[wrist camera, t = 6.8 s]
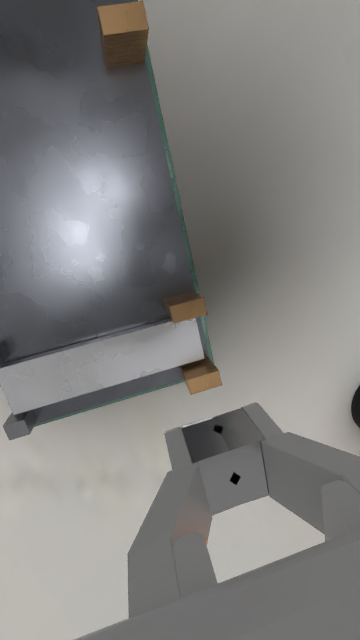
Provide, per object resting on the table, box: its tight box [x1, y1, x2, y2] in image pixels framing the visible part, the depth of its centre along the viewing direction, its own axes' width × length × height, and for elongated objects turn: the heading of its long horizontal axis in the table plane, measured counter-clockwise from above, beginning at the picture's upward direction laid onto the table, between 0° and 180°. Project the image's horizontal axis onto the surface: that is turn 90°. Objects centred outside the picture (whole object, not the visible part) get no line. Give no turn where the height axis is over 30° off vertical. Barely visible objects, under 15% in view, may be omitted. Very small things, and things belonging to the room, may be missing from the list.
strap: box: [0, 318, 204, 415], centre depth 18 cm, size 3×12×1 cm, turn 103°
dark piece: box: [0, 0, 222, 440], centre depth 17 cm, size 28×15×7 cm, turn 13°
